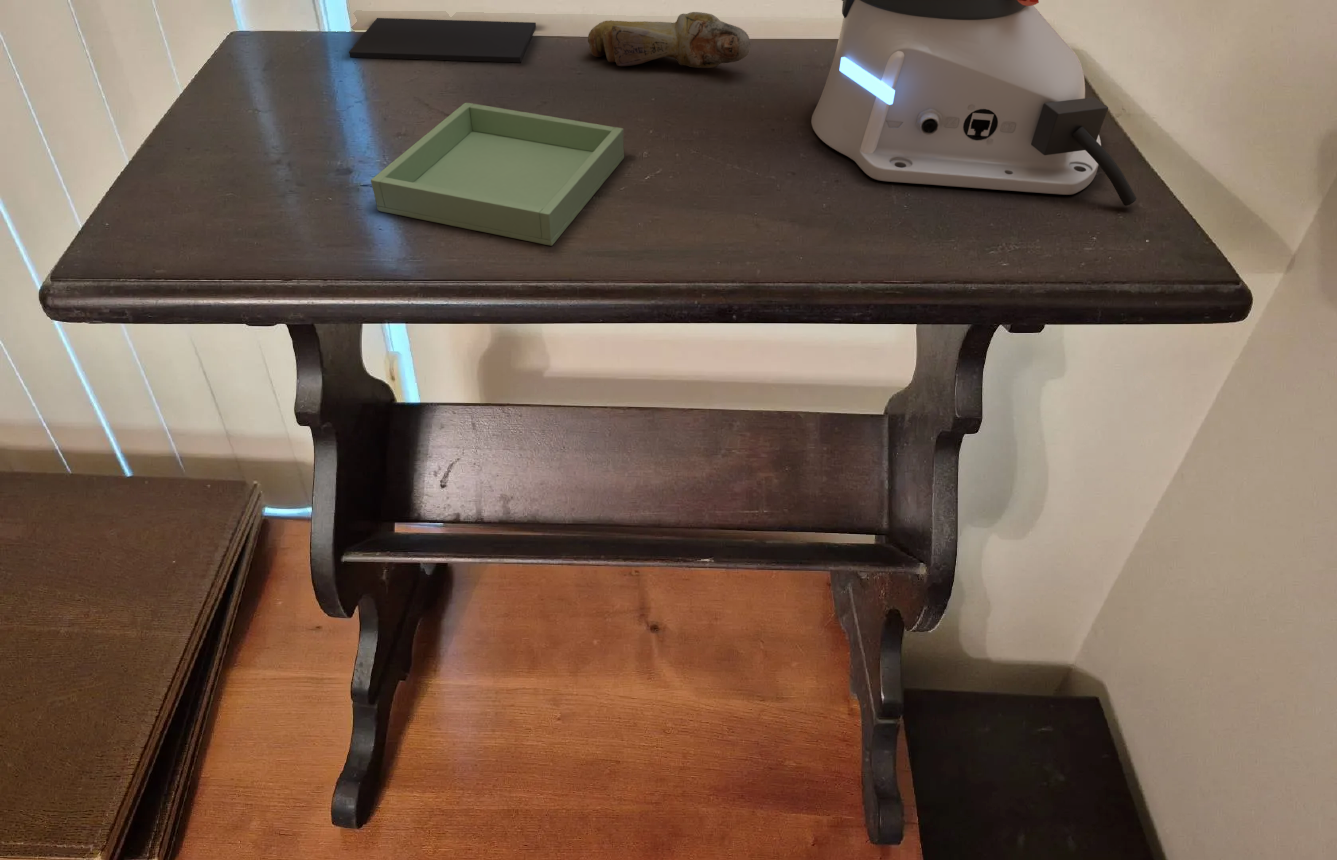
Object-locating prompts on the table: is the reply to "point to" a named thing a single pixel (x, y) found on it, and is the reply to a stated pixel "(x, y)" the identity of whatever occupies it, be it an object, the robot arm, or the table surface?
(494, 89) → the table surface
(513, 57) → the mat
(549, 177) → the tray
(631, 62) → the figurine
